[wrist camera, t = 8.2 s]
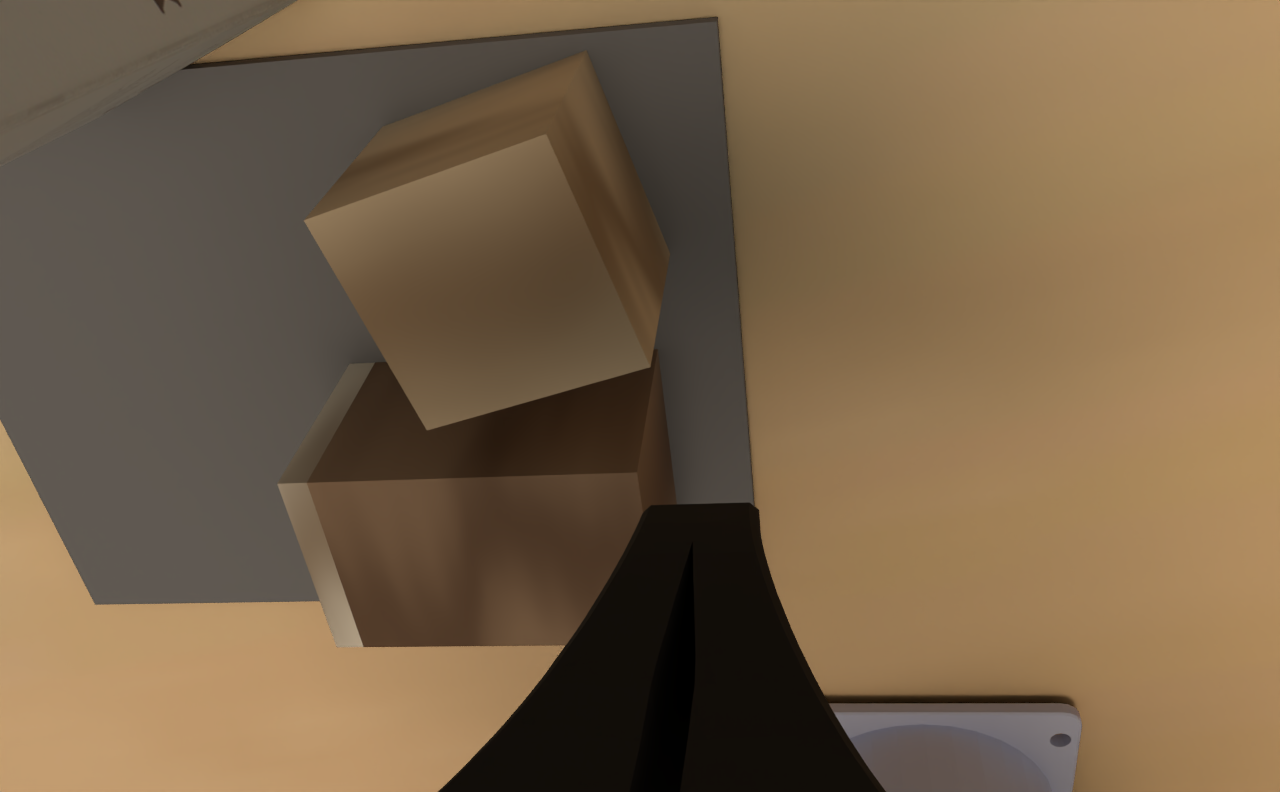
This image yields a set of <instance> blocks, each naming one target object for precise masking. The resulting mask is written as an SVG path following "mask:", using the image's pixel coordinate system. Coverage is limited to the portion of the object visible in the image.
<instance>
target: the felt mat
mask: <svg viewBox="0 0 1280 792" xmlns="http://www.w3.org/2000/svg"><path fill="white" fill-rule="evenodd" d="M585 50H587V53H588V55H589V58H590V60H591V62H592V65H593V67H594V70H595V72H596V75H597V77H598V79H599V82H600V84H601V87H602V89H603V92H604V94H605V96H606V99H607V101H608V104H609V106H610V109H611V111H612V113H613V116H614V118H615V121H616V123H617V126H618V128H619V130H620V133H621V135H622V138H623V140H624V143H625V145H626V147H627V150H628V152H629V155H630V157H631V160H632V162H633V164H634V167H635V169H636V172H637V174H638V177H639V179H640V181H641V184H642V186H643V189H644V191H645V194H646V196H647V198H648V201H649V203H650V206H651V208H652V211H653V213H654V215H655V218H656V220H657V223H658V225H659V228H660V230H661V232H662V235H663V237H664V240H665V242H666V245H667V247H668V249H669V252H670V258H669V264H668V269H667V275H666V281H665V287H664V292H663V298H662V304H661V310H660V315H659V321H658V327H657V332H656V338H655V344H654V349H658V355H659V363H660V371H661V379H662V387H663V395H664V404H665V412H666V420H667V428H668V436H669V444H670V452H671V461H672V469H673V477H674V485H675V493H676V501H677V504H709V503H746V502H749V503H751V504H752V505H753V506H754V493H753V480H752V467H751V453H750V440H749V427H748V414H747V400H746V387H745V374H744V361H743V347H742V334H741V321H740V308H739V294H738V281H737V268H736V255H735V241H734V228H733V215H732V202H731V189H730V175H729V162H728V149H727V136H726V122H725V109H724V96H723V83H722V69H721V56H720V43H719V30H718V17H712V18H701V19H690V20H679V21H668V22H657V23H646V24H635V25H624V26H613V27H602V28H591V29H580V30H569V31H558V32H547V33H536V34H525V35H514V36H503V37H492V38H481V39H470V40H459V41H448V42H437V43H426V44H415V45H404V46H393V47H382V48H371V49H360V50H349V51H338V52H327V53H316V54H305V55H294V56H283V57H272V58H261V59H250V60H239V61H228V62H217V63H206V64H195V65H188V66H186V67H184V68H182V69H181V70H179V71H177V72H176V73H174V74H172V75H170V76H169V77H167V78H165V79H164V80H162V81H160V82H158V83H157V84H155V85H153V86H152V87H150V88H148V89H146V90H145V91H143V92H141V93H140V94H138V95H136V96H135V97H133V98H131V99H129V100H128V101H126V102H124V103H123V104H121V105H119V106H117V107H116V108H114V109H112V110H111V111H109V112H107V113H106V114H104V115H102V116H100V117H98V118H96V119H94V120H92V121H90V122H88V123H87V124H85V125H83V126H81V127H79V128H77V129H75V130H73V131H71V132H69V133H67V134H65V135H63V136H60V137H58V138H56V139H54V140H52V141H50V142H48V143H46V144H44V145H42V146H40V147H38V148H36V149H34V150H32V151H30V152H28V153H26V154H24V155H22V156H20V157H18V158H16V159H14V160H12V161H10V162H8V163H6V164H4V165H2V166H0V420H1V422H2V424H3V426H4V428H5V430H6V432H7V434H8V435H9V437H10V439H11V441H12V443H13V445H14V447H15V449H16V451H17V453H18V455H19V457H20V459H21V461H22V463H23V465H24V467H25V469H26V471H27V472H28V474H29V476H30V478H31V480H32V482H33V484H34V486H35V488H36V490H37V492H38V494H39V496H40V498H41V500H42V502H43V504H44V506H45V508H46V510H47V511H48V513H49V515H50V517H51V519H52V521H53V523H54V525H55V527H56V529H57V531H58V533H59V535H60V537H61V539H62V541H63V543H64V545H65V547H66V548H67V550H68V552H69V554H70V556H71V558H72V560H73V562H74V564H75V566H76V568H77V570H78V572H79V574H80V576H81V578H82V580H83V582H84V584H85V586H86V587H87V589H88V591H89V593H90V595H91V597H92V599H93V601H94V603H95V605H97V604H163V603H229V602H296V601H320V600H319V597H318V594H317V592H316V589H315V586H314V583H313V581H312V578H311V575H310V572H309V570H308V567H307V564H306V561H305V559H304V556H303V553H302V550H301V548H300V545H299V542H298V540H297V537H296V534H295V531H294V529H293V526H292V523H291V520H290V518H289V515H288V512H287V509H286V507H285V504H284V501H283V498H282V496H281V493H280V490H279V487H278V485H277V483H278V482H279V480H280V478H281V477H282V475H283V473H284V472H285V470H286V468H287V467H288V465H289V463H290V462H291V460H292V458H293V457H294V455H295V453H296V452H297V450H298V448H299V447H300V445H301V443H302V442H303V440H304V438H305V437H306V435H307V433H308V432H309V430H310V429H311V427H312V425H313V424H314V422H315V420H316V419H317V417H318V415H319V414H320V412H321V410H322V409H323V407H324V405H325V404H326V402H327V400H328V399H329V397H330V395H331V394H332V392H333V390H334V389H335V387H336V385H337V384H338V382H339V380H340V379H341V377H342V375H343V374H344V372H345V370H346V369H347V367H348V365H349V364H355V363H376V362H386V360H385V358H384V356H383V355H382V353H381V351H380V350H379V348H378V346H377V345H376V343H375V341H374V339H373V338H372V336H371V334H370V333H369V331H368V329H367V328H366V326H365V324H364V322H363V321H362V319H361V317H360V316H359V314H358V312H357V310H356V309H355V307H354V305H353V304H352V302H351V300H350V299H349V297H348V295H347V293H346V292H345V290H344V288H343V287H342V285H341V283H340V281H339V280H338V278H337V276H336V275H335V273H334V271H333V270H332V268H331V266H330V264H329V263H328V261H327V259H326V258H325V256H324V254H323V253H322V251H321V249H320V247H319V246H318V244H317V242H316V241H315V239H314V237H313V235H312V234H311V232H310V230H309V229H308V227H307V225H306V224H305V222H304V220H305V218H306V217H307V216H308V215H309V214H310V212H311V211H312V210H313V209H314V208H315V206H316V205H317V204H318V203H319V202H320V200H321V199H322V198H323V197H324V196H325V194H326V193H327V192H328V191H329V190H330V189H331V187H332V186H333V185H334V184H335V183H336V181H337V180H338V179H339V178H340V177H341V175H342V174H343V173H344V172H345V171H346V169H347V168H348V167H349V166H350V165H351V163H352V162H353V161H354V160H355V159H356V157H357V156H358V155H359V154H360V153H361V152H362V150H363V149H364V148H365V147H366V146H367V144H368V143H369V142H370V141H371V140H372V138H373V137H374V136H375V135H376V134H377V132H378V131H379V130H380V129H381V128H382V127H383V126H386V125H388V124H391V123H394V122H396V121H399V120H402V119H404V118H407V117H410V116H412V115H415V114H418V113H420V112H423V111H426V110H428V109H431V108H434V107H436V106H439V105H442V104H444V103H447V102H450V101H452V100H455V99H458V98H460V97H463V96H466V95H468V94H471V93H474V92H476V91H479V90H482V89H484V88H487V87H490V86H492V85H495V84H498V83H500V82H503V81H505V80H508V79H511V78H513V77H516V76H519V75H521V74H524V73H527V72H529V71H532V70H535V69H537V68H540V67H543V66H545V65H548V64H551V63H553V62H556V61H559V60H561V59H564V58H567V57H569V56H572V55H575V54H577V53H580V52H583V51H585Z"/></svg>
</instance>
